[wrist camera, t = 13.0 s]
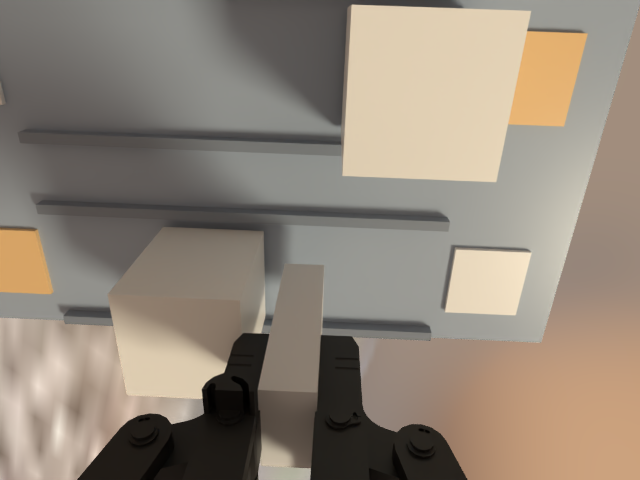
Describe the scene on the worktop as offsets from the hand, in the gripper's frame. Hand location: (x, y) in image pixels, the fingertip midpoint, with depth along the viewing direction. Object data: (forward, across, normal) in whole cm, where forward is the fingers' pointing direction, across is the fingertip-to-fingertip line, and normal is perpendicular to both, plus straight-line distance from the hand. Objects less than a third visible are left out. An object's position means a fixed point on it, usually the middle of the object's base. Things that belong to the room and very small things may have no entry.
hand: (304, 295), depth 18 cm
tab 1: (+2, -4, 0) cm, 4 cm away
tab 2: (+2, +3, +8) cm, 9 cm away
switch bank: (+4, -2, +4) cm, 6 cm away
